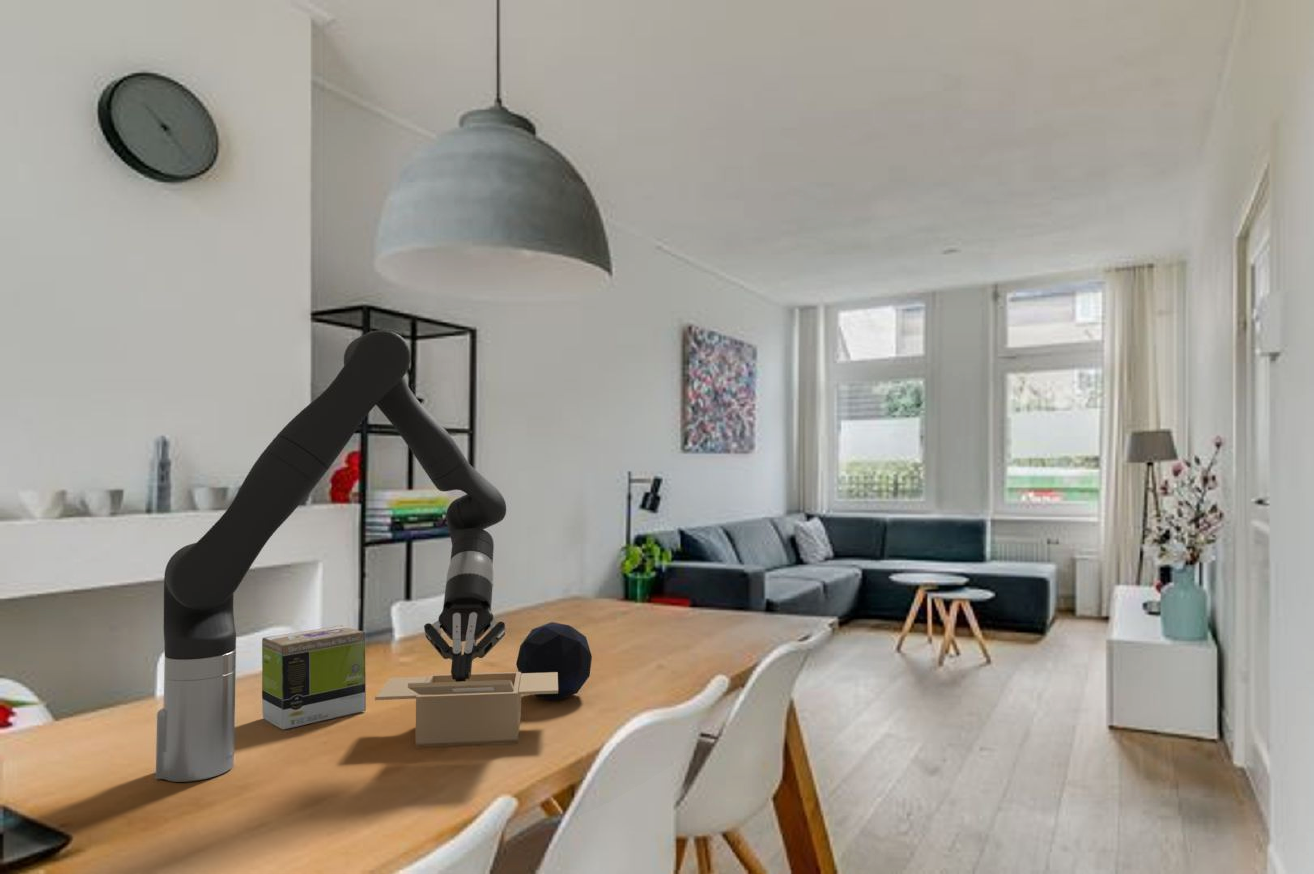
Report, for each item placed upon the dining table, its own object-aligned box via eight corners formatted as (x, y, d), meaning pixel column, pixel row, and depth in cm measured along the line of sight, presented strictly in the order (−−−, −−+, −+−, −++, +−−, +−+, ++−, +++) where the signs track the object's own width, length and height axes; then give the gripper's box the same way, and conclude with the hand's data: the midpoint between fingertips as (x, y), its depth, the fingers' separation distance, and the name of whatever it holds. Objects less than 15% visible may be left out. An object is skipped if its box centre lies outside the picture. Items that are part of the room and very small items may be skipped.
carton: (373, 749, 128) (373, 698, 129) (391, 721, 143) (391, 675, 143) (558, 741, 132) (558, 691, 132) (557, 714, 147) (557, 669, 147)
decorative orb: (507, 660, 165) (515, 608, 157) (578, 654, 170) (590, 604, 162) (516, 720, 154) (526, 667, 146) (593, 711, 159) (606, 660, 151)
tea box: (343, 701, 155) (344, 623, 156) (366, 712, 148) (367, 631, 149) (260, 718, 145) (261, 634, 145) (280, 731, 138) (282, 643, 138)
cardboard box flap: (419, 695, 130) (407, 688, 119) (420, 690, 130) (407, 683, 119) (513, 692, 132) (510, 684, 120) (514, 687, 132) (510, 679, 121)
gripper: (425, 572, 130) (411, 668, 118) (509, 570, 132) (504, 665, 119) (430, 600, 135) (417, 695, 123) (510, 598, 137) (506, 691, 124)
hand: (460, 680), depth 121 cm, fingers closed
